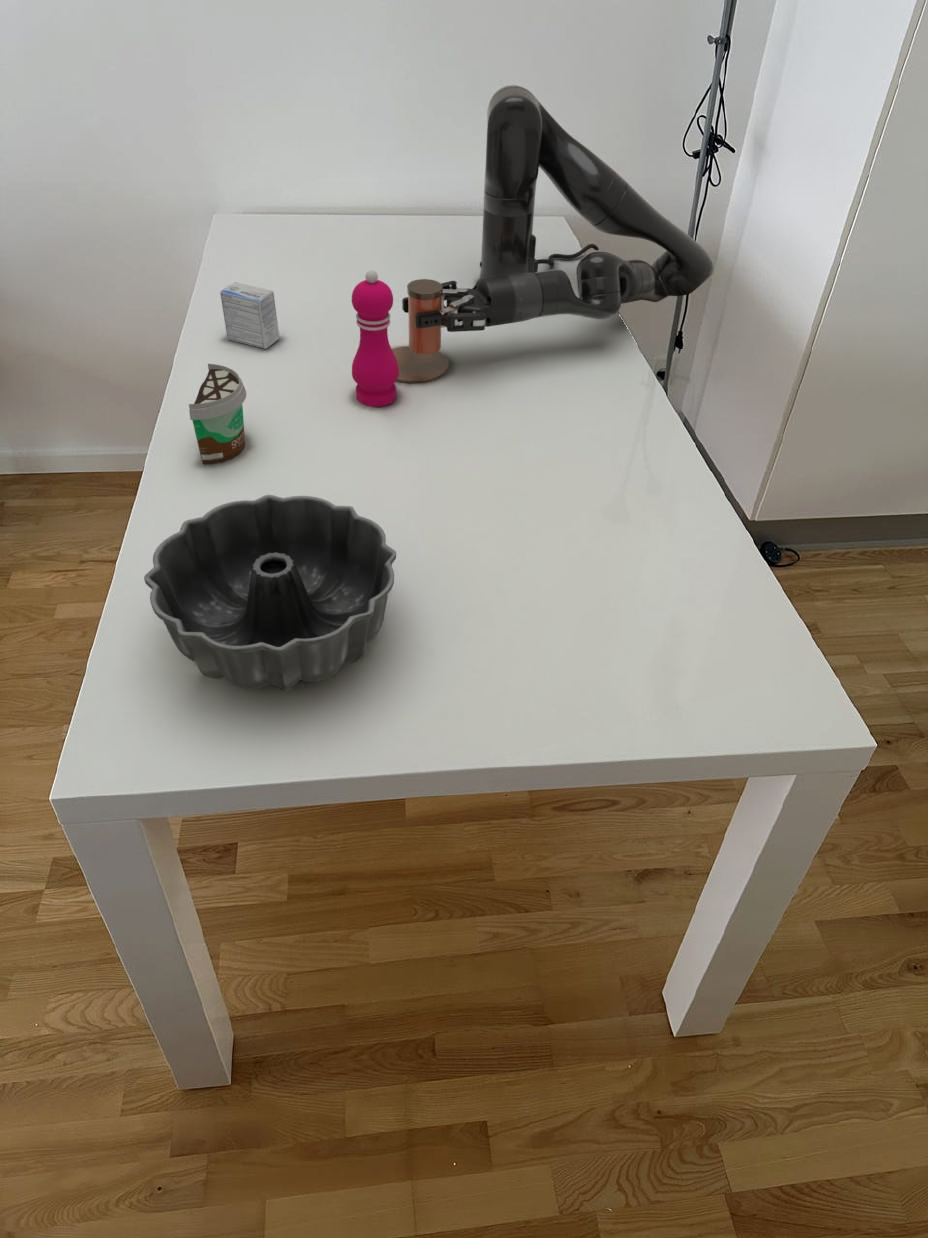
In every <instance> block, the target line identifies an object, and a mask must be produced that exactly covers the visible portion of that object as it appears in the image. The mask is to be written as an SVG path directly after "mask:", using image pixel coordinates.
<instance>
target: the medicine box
mask: <svg viewBox="0 0 928 1238" xmlns="http://www.w3.org/2000/svg"><path fill="white" fill-rule="evenodd" d="M274 292H275V291H273V290H270V289H267V288H263V287H259V286H254V285H249V284H246V283H241V282H236V281H235V282H233V283H231V284H229V285H227V286H226V287H224V288H223V289H222V290H220V292H219V294H220V299H221V300H220V301H221V309H222V313H223V321H224V326H225V333H226V338H227V340H229V341H233V342H237V343H242V344H245V345H249V346H253V347H257V348H261V349H265V350H267V349H268V348H270V347H271V346H272V345H274V344H275V343H276V342H277V341H279V340H280V330H279V323H278V316H277V308H276V299H275V293H274Z"/></svg>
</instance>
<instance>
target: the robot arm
mask: <svg viewBox="0 0 928 1238" xmlns="http://www.w3.org/2000/svg"><path fill="white" fill-rule="evenodd" d="M486 112H487V113H486V125H487V126H486V145H485V146H486V149H485V150H486V151H485V170H484V171H485V172H484V184H483V185H484V189H483V213H482V231H481V232H482V235H481V256H480V258H481V259H480V262H479V268H480V274H479V278H478V279H477V281H476V282H475V285H474V286H473V287H472V288H465V287H458V286H457V285H458V284H457V281H456V280H449V281H445V282H440V283H441V284H442V286H443V294H442V309H441V310H439V312H438V311H437V310H435V311H428V312H421V313H416V314H415V326H416V327H417V328H425V327H432V326H438V325H439V327H441V329H443V328H446V331H447V332H449V333H456V332H457V333H458V332H459V333H460V332H479V331H485V330H486V328H487V327H494V326H495V327H496V326H501V325H508V324H514V323H522V322H526V321H530V320H533V319H538V318H544V317H549V316H557V315H560V316H561V315H566V316H567V315H569V316H577V317H582V318H587V319H592V320H606V319H610V318H612V317H614V316H615V315H616V314H617V313H618V312H619V311H620V309H621V306H622V304H628V303H633V302H637V301H647V302H651V303H658V302H660V301H663V300H664V299H667V298H668V297H682V296H687V295H690V294H692V293H693V292H695V291H696V290H697V289H698V288H699V287H700V286H701V285H703V284H704V283H705V282H706V281H707V280H708V279H709V278H710V277H712V274H713V273H714V272H715V271H714V270H715V265H714V262H713V259H712V258H711V256H710V255H709V254H708V252H707V251H706V249H705V248H704V247H702V245H700V243H698V241H696V240H695V239H694V238H693V237H691V236H690V235H688V234H687V233H686V232H685V231H684V230H682V229H681V228H679V227H678V226H677V225H675V224H674V223H673V222H672V221H670V220H669V219H668V218H667V217H665V216H664V215H663V214H661V213H660V212H659V211H658V210H657V209H655V207H654V206H652V205H651V204H650V203H649V202H648V201H647V200H646V199H645V198H644V197H643V196H642V195H640V193H638V191H636V190H635V189H634V187H632V186H631V185H630V183H628V182H627V181H626V180H625V179H624V178H623V177H622V176H621V175H620V174H619V173H617V171H616V170H614V169H613V168H612V167H611V166H610V165H608V164H607V163H606V162H604V161H603V159H601V158H600V157H599V156H598V155H597V154H595V153H594V152H593V151H592V150H590V149H589V148H588V147H587V146H585V145H584V144H582V143H581V142H580V141H578V140H577V139H576V138H574V137H573V136H572V135H570V134H569V132H567V131H566V130H565V129H564V128H563V127H562V126H561V125H560V123H559V122H558V121H557V120H555V118H554V117H553V116H552V115H551V114H550V113H549V112H548V110H547V109H546V108H545V106H543V104H542V103H541V102H540V101H539V100H538V98H537V97H536V96H535V95H534V94H533V92H531V91H530V90H529V89H528V88H526V87H523V86H520V85H515V84H511V85H510V84H509V85H506V86H503V87H501V88H499V89H497V90H496V91H495V92H494V93H493V95H492V97H491V98H490V100H489V103H488V106H487V111H486ZM539 169H540V170H541V171H542V172H543V173H544V174H545V175H546V176H547V178H548V180H550V181H551V183H552V184H553V185H554V187H555V188H556V189H557V191H558V192H559V193H560V195H561V196H562V197H563V199H565V201H566V202H567V203H568V204H569V205H570V207H571V208H573V210H575V212H576V213H577V214H579V216H581V217H582V218H583V219H584V220H586V221H587V222H588V223H589V224H590V225H591V226H592V227H593V228H594V229H596V230H598V231H600V232H602V233H605V234H607V235H612V236H618V237H619V236H620V237H627V238H635V239H642V240H646V241H648V242H651V243H653V244H656V245H657V246H659V247H661V248H662V249H664V250H665V251H664V252H663V253H662V254H661V255H660V256H659V257H658V258H657V259H655V260H654V262H653V263H652V264H650V263H649V262H647V261H646V260H643V259H637V258H636V259H635V258H634V259H626V260H624V259H622V258H621V257H619V256H617V254H616V255H615V254H613V253H610V252H606V251H599V250H600V247H598V246H597V244H595V243H588V244H587V245H586V246H584V247H583V248H581V249H580V250H579V251H577V252H575V253H572V254H564V253H563V254H562V253H553V254H550V255H549V256H548V258H547V259H546V258H541V259H539V258H538V259H536V245H537V237H536V235H534V234H533V228H534V217H535V204H536V202H535V201H536V190H537V182H538V177H539ZM591 249H593V250H594V251H593V252H589V253H587V254H585V253H586V252H587V251H589V250H591ZM584 254H585V255H584ZM582 255H583V257H581V259H580V260H579V261H578V263H577V265H576V270H575V272H576V273H575V274H576V286H577V295H576V293H575V291H574V289H573V286H572V282H571V280H570V278H569V275H568V274H567V273H566V272H565V271H564V270H562V269H549V270H548V269H547V270H541V271H539V265H542V264H543V265H548V266H550V267H553V266H554V265H555V262H554V259H563V260H572V259H576V258H579V257H580V256H582ZM445 301H446V306H445ZM401 303H402V304H401V307H402V311H403V312H404V313H405V314H407V313H408V296H406V297H403V298H402V301H401Z"/></svg>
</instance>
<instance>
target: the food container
mask: <svg viewBox="0 0 928 1238" xmlns="http://www.w3.org/2000/svg"><path fill="white" fill-rule="evenodd" d="M207 368H208V372H207V375H206V377H205V379H204V380H203V382H202V383H201V385H200V386H199V390H198V393H197V396H196V398H195V400H194V403H188V407H189V409H188V411H189V420H190V421H192V425H193V429H194V433H195V437H196V442H197V446H198V450H199V455H200V459H201V463H202V465H214V464H221V463H224V462H228V461H230V460H233V459H234V458H236V457H238V456H239V455H241V454H242V452H243V451H244V450H245V447H246V437H245V436H246V435H245V422H244V408H243V407H244V406H243V403H244V402H245V400H246V398H247V390H246V387H245V385H244V383H243V380H242V378H241V377H240V376H239V373H237V372H236V370H234V369H232V368H230V367H228V366H225V365H221V364H215V363H207Z"/></svg>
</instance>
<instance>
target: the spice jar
mask: <svg viewBox="0 0 928 1238" xmlns="http://www.w3.org/2000/svg"><path fill="white" fill-rule="evenodd" d="M441 283H442V282H440V281H438V280H435V279H428V278H420V279H419V278H418V279H415V280H411V281H409V283H407V285H406V291H407V292H406V294H407V297H408V316H407V317H408V346H409V348H410V350H412V351H413V352H415V353H419V354H432V353H435V352H437V351H438V352H440V350H441V349H442V327H439V325H438V326H432V327H425V328H417V327H416V326H415V314H416V313H421V312H428V311H435V310H437V311H438V312H439V310H441V309H442V294H443V286H442V284H441Z"/></svg>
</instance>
